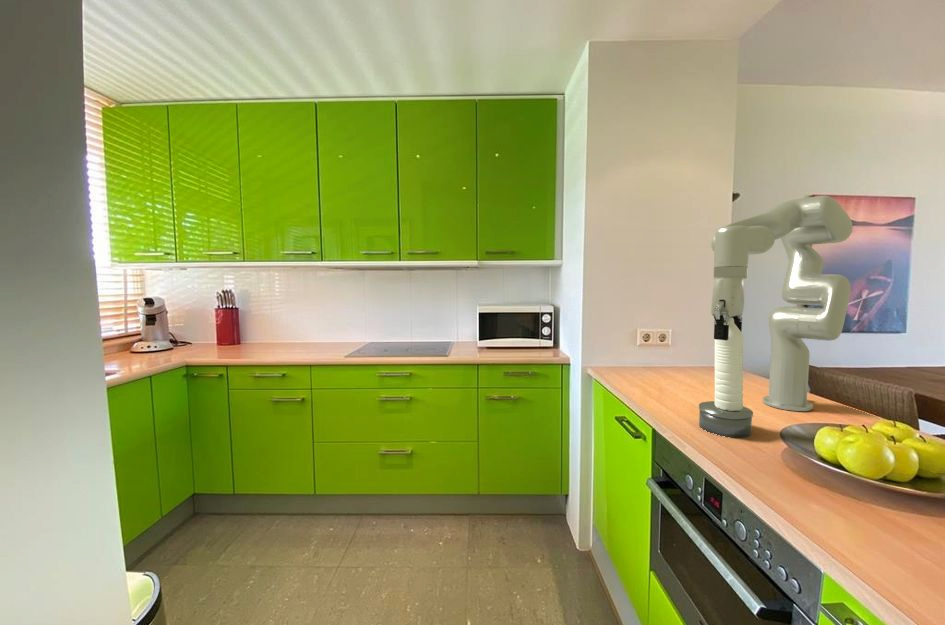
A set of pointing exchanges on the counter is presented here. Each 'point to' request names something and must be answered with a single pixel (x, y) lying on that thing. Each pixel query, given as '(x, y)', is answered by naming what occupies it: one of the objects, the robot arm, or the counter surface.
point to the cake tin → (725, 420)
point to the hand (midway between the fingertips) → (727, 337)
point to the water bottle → (729, 370)
